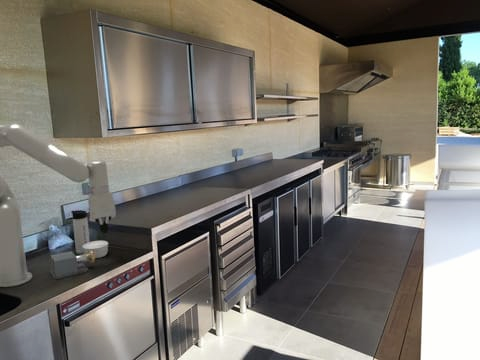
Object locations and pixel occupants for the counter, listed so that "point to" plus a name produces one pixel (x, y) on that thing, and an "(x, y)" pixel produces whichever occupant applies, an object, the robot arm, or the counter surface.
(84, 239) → the travel mug
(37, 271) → the counter surface
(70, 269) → the bearing housing
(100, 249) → the ramekin
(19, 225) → the robot arm
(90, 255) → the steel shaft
